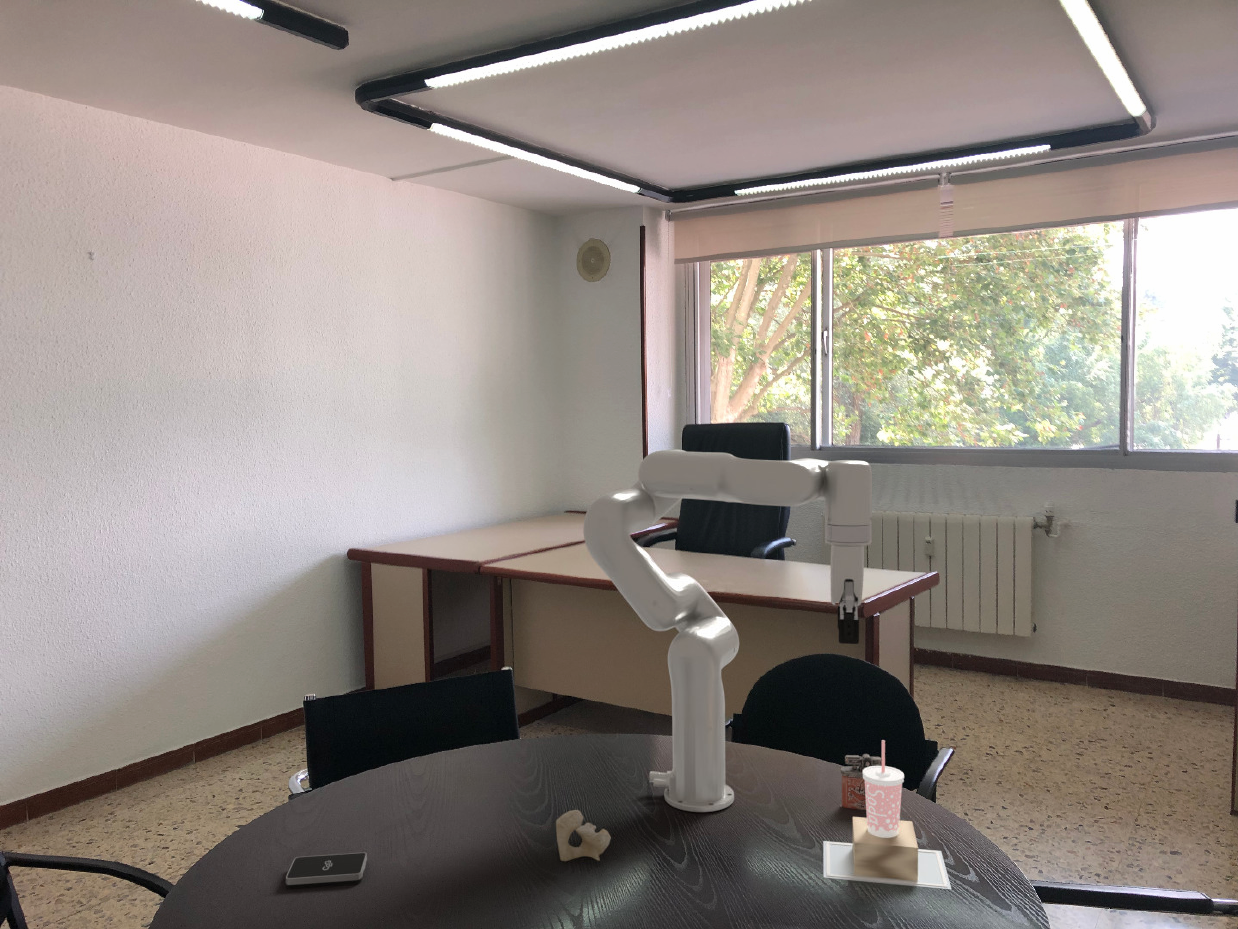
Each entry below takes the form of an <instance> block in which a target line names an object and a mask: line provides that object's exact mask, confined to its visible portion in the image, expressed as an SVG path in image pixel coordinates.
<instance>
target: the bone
mask: <svg viewBox="0 0 1238 929" xmlns="http://www.w3.org/2000/svg"><path fill="white" fill-rule="evenodd" d="M583 822H584V816H583V814H582V812H581V811H580V810H578V809H574V810H569V811H567V812H565V813H563V814H561V815H560V816H559V817H558V818H557V819H556V821H555V828H556V830H555V832H556V841H557V847H558V853H559V854H558V855H559V860H560V861H562V862H567V861H571V860H574V859H578V858H581V857H589V858H593V859H594V860H596V861H598V862H599V861H601V860H600V859H601V858H600V855H602V854H603V853H604V852H605V850H606V849H607V848H608V847H609V845H610V842H611V839H612V837H611V834H610V833H609V831H608V830H606V829H605V828H602V829H600V831H598V832H596V829H597V826H596V825H594V824H592V823H591V822H585V824H584V825H582V824H583ZM574 831H576V833H577V834H578V835H579V836H580V838H581V840H582V841H581V844H580V845H579V846H576V847H575V846H572V845H571V844H570V843H569V839H570V836H571V835H572V833H573V832H574Z"/></svg>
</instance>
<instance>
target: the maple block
mask: <svg viewBox="0 0 1238 929" xmlns="http://www.w3.org/2000/svg"><path fill="white" fill-rule="evenodd" d="M916 836H917V835H916V833H915V827H914V823H913V821H911V820H900V821H899V834H898V835H897V836H895V837H890V838H883V837H878V836H874V835H872V834H870V833H869V832H868V829H867V817H861V816H860V817H859V816H852V843H853V861H854V875H857V876H868V877H879V878H890V879H900V880H911V881H918V849H919V847H918V846H919V845H918V841H917V837H916Z"/></svg>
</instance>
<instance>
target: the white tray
mask: <svg viewBox="0 0 1238 929" xmlns="http://www.w3.org/2000/svg"><path fill="white" fill-rule="evenodd" d="M822 842H823V843H822V844H823V846H822V847H823V848H822V849H823V851H822V852H823V858H822V859H823V860H822V861H823V863H822V865H823V878H824V879H834V880H845V881H856V882H864V883H865V882H867V883H876V884H877V883H879V884H885V885H886V884H887V885H888V884H889V885H898V886H899V885H900V886H911V887H920V888H921V887H922V888H931V889H943V890H951V891H952V885H951V882H950V879H949V875H948V871H947V868H946V864H945V861H944V856H943V853H942V850H933V849H921V848H918V881H911V880H900V879H890V878H879V877H868V876H857V875H854V861H853V842H852V843H851V842H842V841H841V842H840V841H838V842H837V841H828V840H823V841H822Z"/></svg>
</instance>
